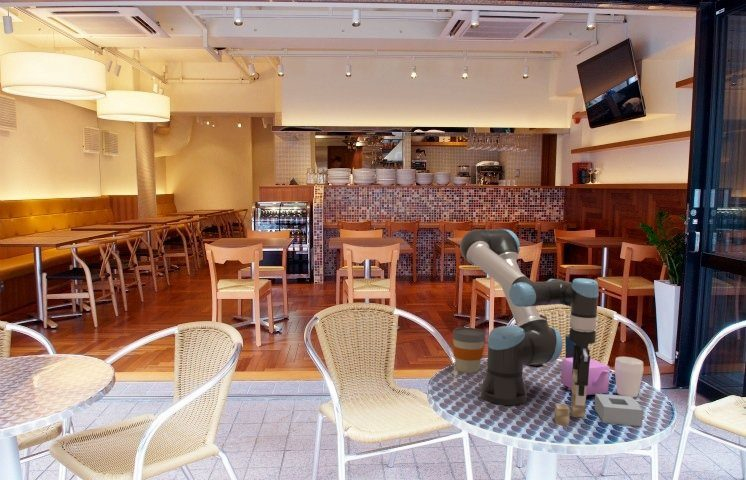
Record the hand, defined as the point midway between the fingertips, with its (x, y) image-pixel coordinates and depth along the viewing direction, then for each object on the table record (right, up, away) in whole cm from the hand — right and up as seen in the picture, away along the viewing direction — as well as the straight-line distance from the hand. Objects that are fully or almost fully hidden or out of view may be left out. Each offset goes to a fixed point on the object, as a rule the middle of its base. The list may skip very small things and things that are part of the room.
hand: (578, 402), depth 169 cm
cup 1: (+13, -1, +39) cm, 41 cm away
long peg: (0, -4, 0) cm, 4 cm away
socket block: (+12, -5, -1) cm, 13 cm away
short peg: (-7, -5, -5) cm, 10 cm away
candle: (+1, 0, +50) cm, 50 cm away
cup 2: (+24, -3, +20) cm, 31 cm away
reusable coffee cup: (-27, 0, +42) cm, 50 cm away
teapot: (+10, -3, +19) cm, 22 cm away
